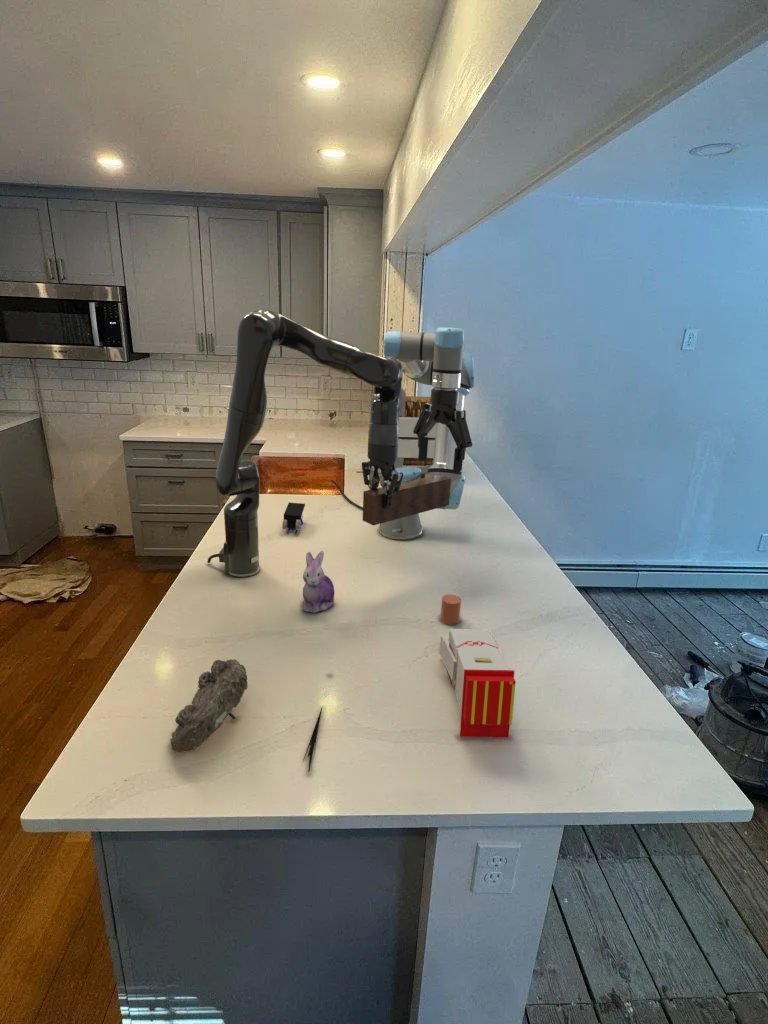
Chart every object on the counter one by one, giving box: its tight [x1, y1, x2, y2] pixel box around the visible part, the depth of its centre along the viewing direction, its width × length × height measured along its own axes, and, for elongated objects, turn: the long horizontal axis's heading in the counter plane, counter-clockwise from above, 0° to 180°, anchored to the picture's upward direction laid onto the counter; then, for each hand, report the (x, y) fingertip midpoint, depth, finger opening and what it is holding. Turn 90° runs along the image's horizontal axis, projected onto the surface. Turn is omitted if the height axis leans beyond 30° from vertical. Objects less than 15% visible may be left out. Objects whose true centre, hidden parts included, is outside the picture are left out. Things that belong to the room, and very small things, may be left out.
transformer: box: [394, 387, 437, 469], centre depth 268 cm, size 34×33×41 cm
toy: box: [438, 628, 517, 738], centre depth 117 cm, size 12×13×30 cm
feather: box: [301, 673, 332, 771], centre depth 108 cm, size 2×28×2 cm
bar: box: [362, 475, 451, 526], centre depth 152 cm, size 28×4×8 cm, turn 131°
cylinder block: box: [439, 593, 462, 626], centre depth 145 cm, size 5×5×6 cm
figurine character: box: [282, 502, 306, 535], centre depth 199 cm, size 7×8×15 cm
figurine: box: [302, 550, 335, 613], centre depth 147 cm, size 9×10×15 cm
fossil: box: [170, 658, 249, 753], centre depth 106 cm, size 22×10×15 cm
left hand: (380, 505), depth 146 cm, fingers closed on bar, 4 cm apart
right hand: (439, 465), depth 158 cm, fingers open, 13 cm apart
